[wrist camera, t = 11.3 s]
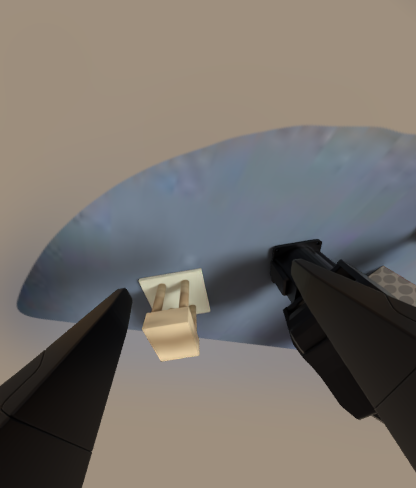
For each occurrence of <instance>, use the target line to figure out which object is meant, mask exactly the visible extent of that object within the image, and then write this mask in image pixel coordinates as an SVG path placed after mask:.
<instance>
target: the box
mask: <svg viewBox="0 0 416 488" xmlns="http://www.w3.org/2000/svg"><path fill="white" fill-rule="evenodd" d="M368 277H369V278H370V279H372V280H373V281H375V282H376V283H377V284H379V285H380V286H382V287H383V288H384V289H386V290H387V291H388V292H390V293H391V294H392V295H393V296H395V297H396V298H397V299H398V300H401V301H403V302H405V303H408V304H410V305H413V306H415V307H416V285H414V284H413V283H411V282H409V281H408V280H406V279H404V278H403V277H401V276H400V275H398V274H396V273H395V272H393V271H391V270H390V269H388V268H386V267H385V266H382V267H381V268H379V269H378V270H377V271H375V272H374V273H372V274H371V275H370V276H368Z"/></svg>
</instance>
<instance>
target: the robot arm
mask: <svg viewBox="0 0 416 488" xmlns="http://www.w3.org/2000/svg"><path fill="white" fill-rule="evenodd" d="M321 245H322V241H320V240H319V239H316V240H310V241H304V242H298V243H292V244H286V245H280V246H275V247H274V248H273V258H272V261H271V270H270V275H271V280H272V282H273V283H275V284H276V285H277V287H278V288H279V290H280V292H281V293H282V295H284V296H286V295H287V296H288V298H289V300H290V301H291V304H290V305H289V306H288V307H286V308H284V309H283V312H284V315H285V319H286V322H287V326H288V329H289V333H290V337H291V339H292V342H293V345H294V346H295V348H296V349H297V350H298V352H299V353H300V354H301V355H302V357H303V358H304V359H305V360H306V361H307V362H308V363H309V364H310V365H311V366H312V367H313V368H314V370H315V371H316V372H317V373H318V374H319V376H320V377H321V378H322V379H323V381H324V382H325V384H326V385H327V386H328V388H329V389H330V391H331V392H332V394H333V395H334V397H335V398H336V399H337V401H338V402H339V404H340V405H341V406H342V407H343V408H344V409H345V410H347V411H348V412H349V413H350V414H351V415H353V416H354V417H355V418H356V419H359V420H361V419H363V418H366V417H369V416H373V417H374V418H376V419H377V420H379V421H381V422H382V423H384V424H385V426H386V427H387V429H388V430H389V432H390V433H391V435H392V436H393V438H394V439H395V441H396V443H397V444H398V445H399V447H400V449H401V450H402V452H403V453H404V455H405V456H406V458H407V459H408V461H409V462H410V464H411V466H412V467H413V469H414V470H415V472H416V307H415V306H413V305H410V304H408V303H405V302H403V301H401V300H398V299H397V298H396V297H395V296H393V295H392V294H391V293H390V292H388V291H387V290H386V289H384V288H383V287H382V286H380V285H379V284H377V283H376V282H375V281H373V280H372V279H370V278H369V277H368V276H366V275H365V274H363V273H362V272H360V271H359V270H357V269H355V268H354V267H352V266H351V265H349V264H348V263H346V262H345V261H343V260H340V261H338V262H337V264H335V263H334V262H332V261H331V260H330V259H329V258H327V257H326V256H325V255H324V254H322V253H321V252H320V249H321ZM277 249H278V250H277ZM276 250H277V251H276ZM131 307H132V298H131V296H130V294H129V292H128V290H127V289H126V288H121V289H117V290H116V291H115V292H113V293H112V294H111V295H110V296H109V297H107V298H106V299H105V300H104V301H103V302H101V303H100V304H99V305H98V306H97V307H96V308H94V309H93V310H92V311H91V312H90V313H88V314H87V315H86V316H85V317H84V318H82V319H81V320H80V321H79V322H78V323H76V324H75V325H74V326H73V327H72V328H70V329H69V330H68V331H67V332H66V333H64V334H63V335H62V336H61V337H60V338H59V339H57V340H56V341H55V342H54V343H53V344H51V345H50V346H49V347H48V348H47V349H46V350H44V351H43V352H42V353H40V355H38V356H37V357H36V358H34V359H33V360H32V361H31V362H30V363H28V364H27V365H26V366H25V367H24V368H22V369H21V370H20V371H19V372H17V373H16V374H15V375H14V376H12V377H11V378H10V379H8V380H7V381H6V382H5V383H3V384H2V385H1V386H0V488H82V485H83V482H84V478H85V475H86V472H87V468H88V464H89V461H90V458H91V454H92V452H91V451H92V450H93V447H94V443H95V440H96V437H97V433H98V430H99V426H100V423H101V419H102V416H103V412H104V409H105V406H106V402H107V399H108V395H109V391H110V388H111V385H112V381H113V378H114V374H115V371H116V368H117V364H118V361H119V357H120V354H121V350H122V347H123V343H124V340H125V337H126V333H127V329H128V324H129V318H130V313H131Z"/></svg>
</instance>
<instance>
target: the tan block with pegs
mask: <svg viewBox="0 0 416 488" xmlns="http://www.w3.org/2000/svg"><path fill="white" fill-rule="evenodd" d="M166 287H167V286H166V285H165V284H163V283H161V284H159V285H158V289H157V292H156V296H155V300H154V304H153V307H152V311H151V313H147V314H146V317H145V321H144V324H143V327H142V330H143V332H144V333H145V335H146V337H147V339H148V340H149V342H150V344H151V345H152V347H153V349H154V350H155V352H156V354H157V355H158V357H159V359H160V360H161V362H162V361H168V360H174V359H180V358H187V357H193V356H199V338H198V335H197V325H196V305H190V306H189V281H188V280H182V281H181V289H180V299H179V308H175V309H174V308H170V309H168V310H163V311H162V307H163V302H164V297H165V292H166Z"/></svg>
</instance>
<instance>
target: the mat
mask: <svg viewBox="0 0 416 488" xmlns="http://www.w3.org/2000/svg"><path fill="white" fill-rule="evenodd" d="M182 280H188V281H189V306H190V305H196V314H200V313H206V312H210V306H209V302H208V297H207V293H206V288H205V284H204V279H203V275H202V270H201V268H200V269H194V270H188V271H182V272H176V273H170V274H164V275H158V276H152V277H146V278H140V279H139V283H140V285H141V287H142V289H143V291H144V293H145V295H146V297H147V299H148V301H149V303H150V305H151V307H153V304H154V300H155V296H156V292H157V289H158V285H159V284H161V283H163V284H165V285H166V286H167V287H166V292H165V297H164V302H163V307H162V311H163V310H168V309H170V308H174V309H175V308H179V299H180V289H181V281H182Z"/></svg>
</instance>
